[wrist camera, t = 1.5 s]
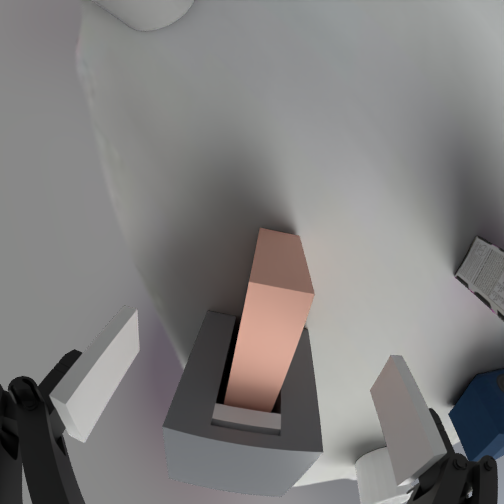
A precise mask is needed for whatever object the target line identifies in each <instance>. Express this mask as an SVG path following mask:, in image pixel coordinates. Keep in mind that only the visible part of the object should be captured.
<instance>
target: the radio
mask: <svg viewBox="0 0 504 504" xmlns="http://www.w3.org/2000/svg"><path fill="white" fill-rule="evenodd" d="M448 415H449V417H450V419H451V421H452V423H453V425H454V428H455V430H456V432H457V434H458V437H459V439H460V441H461V444H462V446H463V448H464V451H465V453H466V456H467V458H468V461H479V460H480V459H481V458H482V457H483V456H485V455H489V456H492V457H493V458H494V459H495V460H496V459H497V458H499V457H501V456H503V455H504V369H500V370H496V371H491V372H487V373H482V374H477V375H476V376H475V378H474V379H473V380H472V382H471V383H470V385H469V386H468V388H467V389H466V391H465V392H464V393H463V395H462V396H461V398H460V399H459V400H458V402H457V403H456V405H455V406H454V407H453V409H452V410H451V411H450V413H449V414H448Z"/></svg>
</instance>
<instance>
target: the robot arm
mask: <svg viewBox="0 0 504 504" xmlns="http://www.w3.org/2000/svg"><path fill="white" fill-rule="evenodd" d="M138 352H139V333H138V309H136V308H132V307H129V306H126V305H124V306H123V307H122V308H121V309H120V310H119V312H118V313H117V314H116V315H115V316H114V317H113V318H112V320H111V321H110V322H109V323H108V324H107V325H106V326H105V328H104V329H103V330H102V331H101V332H100V333H99V335H98V336H97V337H96V338H95V339H94V340H93V341H92V343H91V344H90V345H89V346H88V348H87V349H86V350H85V351H84V352H83V353H82V352H80V351H77V350H75V349H74V350H72V351H71V352H69V353H67V354H65V356H63V357H62V359H61V360H60V361H59V363H57V364H56V366H55V367H54V369H52V370H51V371H50V373H49V374H48V375H47V376H46V377H45V379H44V380H43V381H42V382H41V383H40V385H39V386H37V384H36V383H35V381H34V380H33V379H31V378H29V377H25V376H21V377H17V378H15V379H13V380H12V381H11V383H10V384H9V386H8V391H9V392H7V391H4V390H3V388H2V386H1V384H0V504H23V503H22V463H23V467H24V473H25V477H26V481H27V485H28V490H29V493H30V497H31V500H32V504H85V502H84V500H83V497H82V495H81V492H80V489H79V487H78V484H77V481H76V478H75V475H74V472H73V469H72V466H71V462H70V459H69V455H68V452H67V448H66V445H65V441H64V437H63V435H62V433H63V432H64V430H65V429H66V430H67V432H68V433H69V435H70V436H72V437H74V438H76V439H78V440H80V441H82V442H84V443H85V441H86V440H87V438H88V436H89V434H90V432H91V431H92V429H93V427H94V425H95V424H96V422H97V420H98V418H99V417H100V415H101V413H102V411H103V410H104V408H105V406H106V405H107V403H108V401H109V400H110V398H111V396H112V395H113V393H114V391H115V389H116V388H117V386H118V384H119V383H120V381H121V380H122V378H123V376H124V375H125V373H126V371H127V370H128V368H129V366H130V365H131V363H132V362H133V360H134V358H135V357H136V355H137V354H138ZM370 392H371V395H372V398H373V401H374V405H375V408H376V411H377V414H378V417H379V421H380V424H381V427H382V431H383V434H384V438H385V441H386V445H387V449H388V452H389V456H390V460H391V463H392V467H393V471H394V475H395V479H396V483H397V486H402V485H407V484H411V483H412V482H413V481H414V480H416V479H417V478H418V479H419V483H418V484H416V485H415V486H414V487H412V488H411V489H409V490H408V491H407V493H406V494H408V493H410V492H411V491H413V492H412V494H411V496H410V498H409V500H408V502H407V504H497V497H498V479H497V478H498V476H497V463H496V461H495V459H494V458H493V457H492V456H489V455H485V456H483V457H482V458H481V459H480V460H479V461H468V460H467V459H466V457H465V456H463V455H462V454H459V453H455V452H454V449H453V447H452V445H451V442H450V440H449V438H448V435H447V433H446V431H444V426H443V424H442V422H441V420H440V418H439V416H438V414H437V413H436V412H435V411H434V410H433V409H432V408H429V409H428V407H427V405H426V402H425V400H424V398H423V396H422V394H421V392H420V390H419V388H418V386H417V384H416V382H415V380H414V378H413V376H412V374H411V372H410V370H409V368H408V366H407V364H406V362H405V360H404V358H403V357H402V356H399V355H390V357H389V359H388V361H387V363H386V364H385V366H384V368H383V370H382V371H381V373H380V375H379V376H378V378H377V380H376V381H375V383H374V385H373V386H372V388H371V390H370ZM471 491H472V496H471V497H470V498H469V496H468V495H469V493H470V492H471Z"/></svg>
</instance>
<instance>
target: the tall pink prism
mask: <svg viewBox="0 0 504 504" xmlns="http://www.w3.org/2000/svg"><path fill="white" fill-rule="evenodd" d="M314 295H315V294H314V290H313V286H312V282H311V278H310V274H309V270H308V266H307V262H306V258H305V255H304V251H303V247H302V243H301V240H300V236H298V235H293V234H289V233H284V232H279V231H274V230H269V229H264V228H260V230H259V235H258V239H257V244H256V249H255V254H254V259H253V264H252V269H251V274H250V279H249V284H248V289H247V294H246V298H245V303H244V308H243V313H242V318H241V323H240V328H239V333H238V338H237V342H236V346H235V351H234V356H233V361H232V366H231V370H230V375H229V380H228V385H227V390H226V395H225V400H224V404H223V405H227V406H232V407H238V408H243V409H249V410H255V411H262V412H269V413H271V411H272V409H273V406H274V404H275V401H276V399H277V397H278V394H279V392H280V389H281V387H282V384H283V382H284V379H285V377H286V374H287V371H288V369H289V366H290V363H291V361H292V358H293V355H294V353H295V350H296V347H297V345H298V342H299V339H300V336H301V333H302V331H303V328H304V325H305V322H306V319H307V316H308V313H309V310H310V307H311V304H312V301H313V298H314Z"/></svg>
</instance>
